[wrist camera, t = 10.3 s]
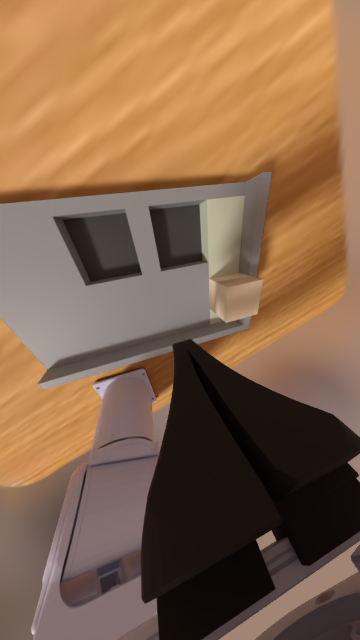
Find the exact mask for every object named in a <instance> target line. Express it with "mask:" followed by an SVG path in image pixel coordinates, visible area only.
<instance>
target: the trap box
mask: <svg viewBox="0 0 360 640" xmlns="http://www.w3.org/2000/svg"><path fill="white" fill-rule="evenodd" d="M271 177H272V172H262V173H260V174H258V175H257V176H255V177H253V178H251V179H250V180H248V181H246V182H237V183H226V184H215V185H204V186H193V187H182V188H171V189H160V190H149V191H138V192H127V193H115V194H104V195H93V196H82V197H71V198H60V199H49V200H38V201H27V202H16V203H5V204H0V318H1V319H2V320H3V321H4V322H5V324H6V325H7V326H8V327H9V328H10V329H11V330H12V331H13V332H14V333H15V334H16V336H17V337H18V338H19V339H20V340H21V341H22V342H23V343H24V344H25V345H26V347H27V348H28V349H29V350H30V351H31V352H32V353H33V354H34V355H35V356H36V358H37V359H38V360H39V361H40V362H41V363H42V364H43V365H44V366H45V367H46V369H47V372H46V373H45V374H44V376H43V377H42V379H41V380H40V381H39V383H38V385H39V386H40V387H41V388H42V389H43V390H45V389H48V388H51V387H55V386H58V385H62V384H65V383H68V382H72V381H75V380H78V379H82V378H85V377H89V376H92V375H95V374H99V373H102V372H105V371H109V370H112V369H116V368H119V367H122V366H126V365H129V364H133V363H136V362H139V361H143V360H146V359H149V358H153V357H156V356H160V355H163V354H166V353H170V352H173V347H172V345H173V344H174V343H178V342H181V341H185V340H188V339H192V340H193V341H194V342H195V343H196V344H200V343H204V342H207V341H210V340H214V339H217V338H221V337H224V336H227V335H231V334H234V333H237V332H241V331H244V330H248V329H249V327H250V320H251V316H249V317H245V318H242V319H238V320H235V321H231V322H228V323H226V322H225V321H223V320H222V319H221V318H220V317H219V316H218V315H217V314H215V313H214V312H213V311H212V310H211V309H210V296H209V279H211V278H215V277H220V276H225V275H229V274H234V273H242V274H246V275H249V276H253V277H257V272H258V266H259V259H260V252H261V245H262V238H263V231H264V225H265V218H266V211H267V204H268V197H269V190H270V183H271Z"/></svg>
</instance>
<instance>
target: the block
mask: <svg viewBox="0 0 360 640" xmlns="http://www.w3.org/2000/svg"><path fill="white" fill-rule="evenodd" d="M262 285H263V279H260V278H257V277H253V276H249V275H246V274H242V273H234V274H229V275H225V276H220V277H215V278H211V279H209V296H210V309H211V310H212V311H213V312H214V313H215V314H217V315H218V316H219V317H220V318H221V319H222V320H223V321H225V322H226V323H228V322H231V321H235V320H238V319H242V318H245V317H249V316H253V315H256V314H258V308H259V302H260V296H261V291H262Z"/></svg>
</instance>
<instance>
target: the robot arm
mask: <svg viewBox="0 0 360 640" xmlns="http://www.w3.org/2000/svg"><path fill="white" fill-rule="evenodd" d="M172 347H173V352H174V383H173V391H172V398H171V404H170V410H169V415H168V420H167V425H166V429H165V433H164V437H163V441H162V445H161V449H160V451H159V444H158V442H154V440H155V434H154V424H153V413H152V403H155V402H156V397H155V394H154V392H153V389H152V386H151V384H150V381H149V379H148V376H147V373H146V371H145V369H144V368H141V369H138V370H135V371H131V372H128V373H125V374H122V375H118V376H115V377H112V378H108V379H105V380H102V381H99V382H95V383H94V384H93V388H94V389H95V390H96V392H97V393H98V394H99V396H100V397H101V398H102V403H101V407H100V412H99V416H98V421H97V425H96V430H95V435H94V439H93V444H92V448H91V453H90V456H89V459H88V462H87V465H86V463H82V464H80V465H79V467H78V468H77V469H76V470H75V471H74V472H73V473H72V475H71V479H70V482H69V486H68V489H67V493H66V496H65V500H64V503H63V507H62V511H61V514H60V518H59V521H58V525H57V528H56V532H55V536H54V539H53V543H52V546H51V550H50V554H49V557H48V561H47V565H46V568H45V572H44V576H43V579H42V582H43V587H42V591H41V595H40V598H39V602H38V606H37V610H36V613H35V617H34V620H33V624H32V628H31V632H32V634H33V635H34V638H33V640H218V639H220V638H221V637H223V636H224V635H226V634H227V633H228V632H230V631H231V630H233V629H234V628H236V627H237V626H238V625H240V624H241V623H243V622H244V621H246V620H247V619H248V618H250V617H251V616H253V615H254V614H256V613H257V612H258V611H260V610H261V609H263V608H264V607H266V606H267V605H268V604H270V603H271V602H273V601H274V600H276V599H277V598H278V597H280V596H281V595H283V594H284V593H286V592H287V591H288V590H290V589H291V588H293V587H294V586H296V585H297V584H299V583H300V582H301V581H303V580H304V579H306V578H307V577H309V576H310V575H311V574H313V573H314V572H316V571H317V570H319V569H320V568H321V567H323V566H324V565H326V564H327V563H329V562H330V561H331V560H332V559H334V558H336V557H337V556H339V555H340V554H341V553H343V552H344V551H346V550H347V549H349V548H350V547H351V546H353V545H354V544H356V543H357V542H359V541H360V482H359V481H358V480H357V479H356V478H357V477H358V476H359V475H358V473H357V472H356V471H355V470H354V469H353V468H352V467H351V466H350V465H349V464H348V463H347V462H348V461H350V460H351V459H353V458H354V457H356V456H357V455H358V454H360V437H359V436H358V435H357V434H355V433H354V432H353V431H352V430H351V429H350V428H348V427H347V426H346V425H345V424H344V423H343V422H341V421H340V420H339V419H338V418H336V417H335V416H334V415H333V414H331V413H328V412H325V411H322V410H320V409H317V408H314V407H311V406H309V405H306V404H304V403H300V402H298V401H296V400H293V399H291V398H288V397H286V396H283V395H281V394H279V393H277V392H274V391H272V390H270V389H268V388H266V387H264V386H262V385H260V384H257V383H255V382H253V381H252V380H249V379H248V378H246V377H244V376H242V375H241V374H239V373H237V372H235V371H234V370H232V369H230V368H229V367H227V366H226V365H224V364H223V363H221V362H220V361H218V360H217V359H215V358H214V357H213V356H211V355H210V354H209V353H207V352H206V351H205V350H204V349H202V348H201V347H200V346H199V345H198V344H196V343H195V342H194V341H193V340H192V339H188V340H185V341H181V342H178V343H174V344H173V345H172ZM142 373H143V374H142ZM270 530H272V532H273V534H274V536H275V538H276V541H275V542H274V543H272V544H271V545H269V546H267V547H266V548H264V549H262V550H261V551H260V549H259V546H258V544H257V542H256V539H257V538H259V537H260V536H262V535H264V534H266V533H267V532H269V531H270ZM351 560H352V562H353V563H354V565H355V566H356V568H357V569H358V571H359V572H357V573H355V574H354V575H352V576H350V577H348V578H347V579H345V580H343V581H341V582H340V583H338V584H336V585H334V586H333V587H331V588H329V589H328V590H326V591H324V592H322V593H321V594H319V595H317V596H315V597H313V598H312V599H310V600H308V601H307V602H305V603H303V604H302V605H300V606H298V607H297V608H296V609H294V610H292V611H291V612H289V613H288V614H286V615H285V616H284V617H282V618H281V619H280V620H278V621H277V622H276V623H275V624H273V625H272V626H271V627H269V628H268V629H267V630H266V631H264V632H263V633H262V634H261V635H260V636H259V637H258V638H256V639H255V640H360V545H359V546H358V547H357V548H356V550H355V551H354V552H353V554H352V555H351ZM156 611H157V613H158V614H157V615H155V613H156ZM154 615H155V616H154Z"/></svg>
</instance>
